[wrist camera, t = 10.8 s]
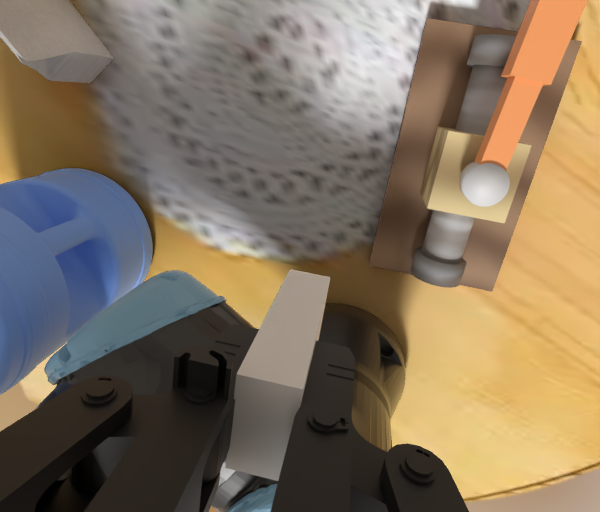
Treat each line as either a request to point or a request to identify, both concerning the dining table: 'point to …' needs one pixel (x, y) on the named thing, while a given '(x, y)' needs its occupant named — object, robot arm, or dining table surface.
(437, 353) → the dining table surface
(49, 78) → the grey milk carton
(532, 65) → the valve lever
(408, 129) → the valve stand
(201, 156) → the dining table surface
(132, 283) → the water jug
